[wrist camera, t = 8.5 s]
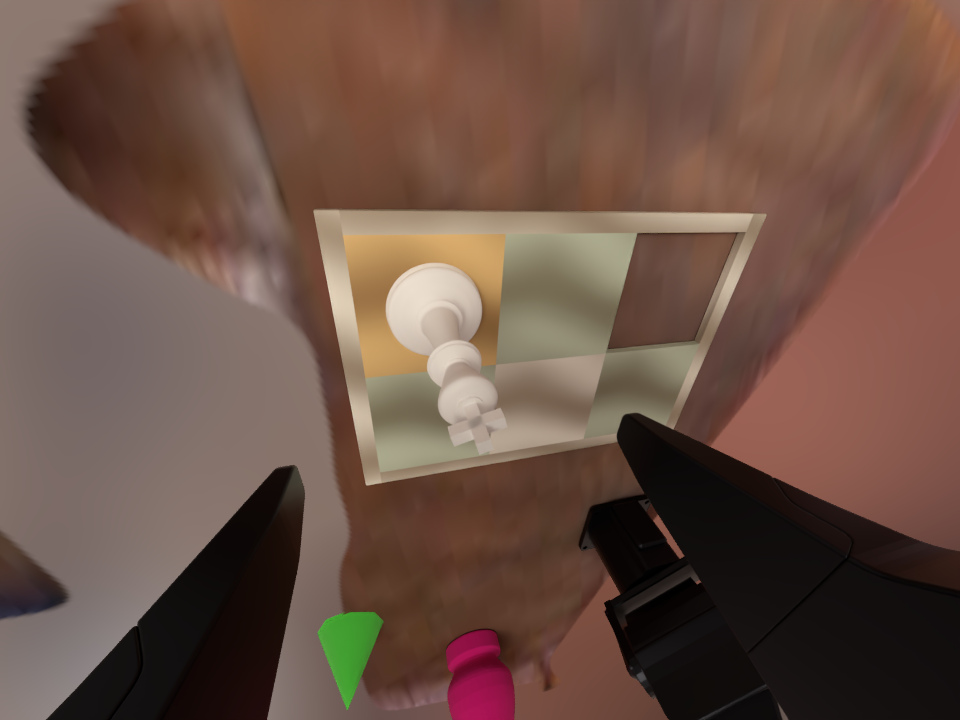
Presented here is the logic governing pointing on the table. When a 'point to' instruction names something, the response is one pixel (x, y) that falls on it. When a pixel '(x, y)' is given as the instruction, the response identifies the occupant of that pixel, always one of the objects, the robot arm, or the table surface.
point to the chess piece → (447, 346)
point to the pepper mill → (479, 679)
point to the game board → (511, 328)
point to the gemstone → (349, 647)
